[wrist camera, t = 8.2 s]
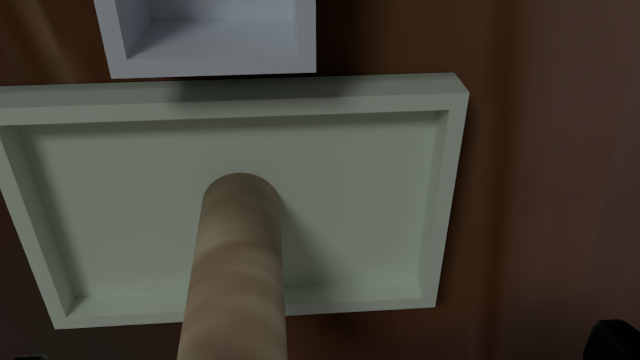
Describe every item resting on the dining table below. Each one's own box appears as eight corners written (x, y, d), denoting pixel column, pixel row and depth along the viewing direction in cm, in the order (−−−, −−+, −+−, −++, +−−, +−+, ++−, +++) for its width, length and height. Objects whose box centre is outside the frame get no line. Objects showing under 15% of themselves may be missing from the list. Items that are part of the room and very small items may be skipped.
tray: (453, 72, 19) (469, 92, 18) (425, 278, 25) (435, 307, 23) (-6, 86, 18) (-31, 109, 17) (68, 297, 24) (54, 329, 22)
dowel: (278, 171, 20) (286, 336, 14) (281, 233, 22) (289, 408, 15) (197, 174, 20) (166, 345, 14) (206, 237, 22) (182, 417, 15)
